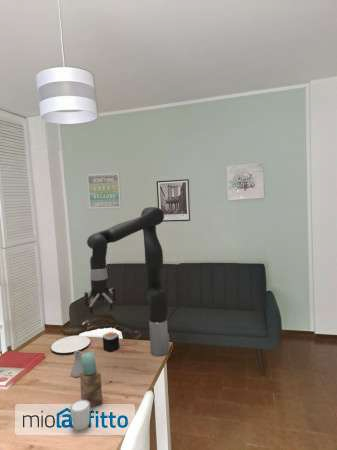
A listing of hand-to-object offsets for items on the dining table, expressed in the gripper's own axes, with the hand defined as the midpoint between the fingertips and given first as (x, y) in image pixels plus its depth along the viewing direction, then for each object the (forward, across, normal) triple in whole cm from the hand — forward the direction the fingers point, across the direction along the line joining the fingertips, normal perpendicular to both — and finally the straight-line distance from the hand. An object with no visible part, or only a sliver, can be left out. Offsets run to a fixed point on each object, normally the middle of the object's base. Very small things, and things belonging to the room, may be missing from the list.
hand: (101, 312), depth 143 cm
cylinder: (+16, +10, +20) cm, 27 cm away
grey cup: (+28, +16, +31) cm, 45 cm away
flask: (+28, +11, -4) cm, 31 cm away
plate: (+29, +10, -35) cm, 46 cm away
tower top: (+22, +10, +20) cm, 31 cm away
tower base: (+28, +10, +20) cm, 36 cm away
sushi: (+28, -9, -21) cm, 36 cm away
